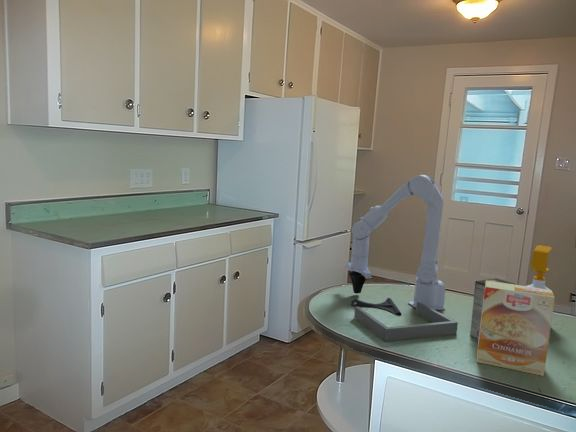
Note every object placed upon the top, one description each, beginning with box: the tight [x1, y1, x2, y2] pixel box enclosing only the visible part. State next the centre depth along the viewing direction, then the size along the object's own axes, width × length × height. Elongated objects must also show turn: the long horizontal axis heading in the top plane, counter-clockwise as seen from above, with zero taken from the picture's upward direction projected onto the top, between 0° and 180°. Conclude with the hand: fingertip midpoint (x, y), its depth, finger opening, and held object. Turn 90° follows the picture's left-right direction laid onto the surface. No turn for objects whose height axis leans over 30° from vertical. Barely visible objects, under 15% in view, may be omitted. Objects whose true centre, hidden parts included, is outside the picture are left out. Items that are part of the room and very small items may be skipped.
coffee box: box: [469, 278, 517, 339], centre depth 129 cm, size 9×6×16 cm
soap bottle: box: [526, 244, 555, 296], centre depth 140 cm, size 9×9×25 cm
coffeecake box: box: [476, 279, 556, 377], centre depth 112 cm, size 15×7×20 cm, turn 66°
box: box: [353, 302, 459, 343], centre depth 135 cm, size 23×18×4 cm
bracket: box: [350, 297, 402, 316], centre depth 151 cm, size 14×15×3 cm
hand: (357, 292), depth 162 cm, fingers closed
